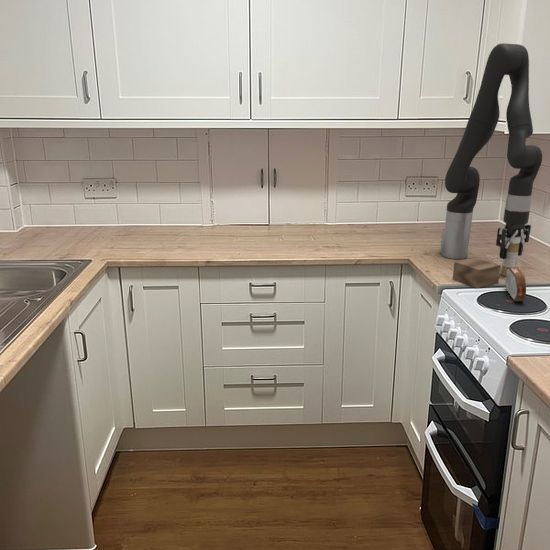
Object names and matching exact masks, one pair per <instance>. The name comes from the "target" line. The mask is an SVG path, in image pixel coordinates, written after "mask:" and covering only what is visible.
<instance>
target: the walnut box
mask: <svg viewBox="0 0 550 550" xmlns="http://www.w3.org/2000/svg"><path fill="white" fill-rule="evenodd" d="M501 267H502V266H501V264H498V263H494V262H491V261H488V260H484V259H481V258H478V257H472V258H465V259H460V260H457V261H454V264H453V273H452V280H453V279H454V281H456V282H459V283H463V284H464V285H468V286H471V287H473V288H475V289H479V288H483V287H488V286H491V285H492V286H493V285H496V284H498V283H499V281H500V280H499V279H500V275H501Z"/></svg>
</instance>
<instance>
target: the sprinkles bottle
mask: <svg viewBox="0 0 550 550" xmlns="http://www.w3.org/2000/svg"><path fill="white" fill-rule="evenodd" d="M506 238H507V237H506ZM507 239H510V238H507ZM520 240H521V238H520V237H514V239H513V241H512V242H511V243H510V244H509V246H508V251H507V258H506V259H502V263H501V264H502V266H501V270H500V275H501V276H505V277H506V270H507V268H508V267H516V266H517V264H518V257H519V256H518V249H519V244H520ZM505 244H506V243H505Z"/></svg>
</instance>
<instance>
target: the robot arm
mask: <svg viewBox="0 0 550 550" xmlns="http://www.w3.org/2000/svg"><path fill="white" fill-rule="evenodd" d="M529 59H530V58H529V51H528V49H527V48H526V46H524V45H522V44H517V43H503V42H502V43H498V44H496V45H495V46H493V48H492V49H491V51H490V53H489V54H488V57H487V61H486V64H485V68H484V72H483V75H482V80H481V82H480V87H479V90H478V93H477V96H476V99H475V102H474V104H473V107H472V110H471V112H470V116H469V118H468V121H467V123H466V126H465V129H464V133H463V135H462V138H461V141H460V143H459V145H458V147H457V151H456V152H455V155H454V157H453V159H452V161H451V162H450V165H449V167H448V170H447V172H446V174H445V178H444V186H445V189H446V191H447V192H448V193H451V194H456V195H455V196H454V198H453V199H452V200H450V201H449V202H447V205H446V213H445V222H444V229H442V231H441V241H440V249H439V254H440V255H442V256H443V257H445V258H448V259H453V260H466V259H468V255H469V246H470V240H471V239H470V237H471V230H472V222H473V214H474V213H473V212H474V207H476V204H477V200H478V195H479V194H478V193H479V189H480V183H481V182H480V181H481V178H480V174H479V171H478V169H477V168H476V167H474V166H471V165H472V162H473V160H474V158H475V157H476V156H477V155H478V154H479V153H480V151H481V150H483V148H484V147H485V146H486V145H487V144H488V142H489V141H490V140H491V139H492V137H493V135H494V133H495V130H496V128H497V125H498V122H499V120H500V104H499V91H500V87H501V84H502V82H503V80H504V77H505V76H508V77H509V80H510V86H511V92H510V97H509V100H508V104H507V106H506V107H507V108H506V111H505V112H506V115H505V116H506V117H505V118H506V124H507V130H508V131H507V132H508V140H507V148H506V149H507V151H506V158H507V161H508V164H509V166H511V168H513V169H517V170H519V171H518V173H517V174H515V175H513V176H512V177H511V178H510V179H509V182H508V183H509V184H508V190H507V196H506V199H505V200H506V201H505V207H504V212H503V223H505V225H504V228H502V227H497V231H496V232H497V234H496V243H495V245H496V246H497V247H499V259H502V260H503V259H506V258H507V251H508V246H509V244H510V243H511V242H512V241H513V239H514V237H520V238H521V240H520V244H519V249H518V257H519V256H522V254H523V250H524V245H525V244H526V243H529V240H530V235H531V234H530V233H531V228H532V225H531V224H528V223H529V219H530V213H531V212H530V211H531V205H532V193H533V187H534V182H535V179H537V178H536V177H537V176H538V172H539V171H540V168H541V165H542V164H543V163H542V161H543V152H542V150H541V148H540V147H539V146H537V145H533V144H530V145H526V141H527V139H528V138H530V137H531V136H533V133H534V128H533V127H534V126H533V120H532V115H531V110H530V109H531V108H530V93H529V92H530V90H529V89H530V60H529ZM506 237H507V238H510V239H507V238H506ZM505 241H506V244H505Z"/></svg>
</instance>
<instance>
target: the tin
mask: <svg viewBox="0 0 550 550" xmlns="http://www.w3.org/2000/svg"><path fill="white" fill-rule="evenodd" d="M505 289H506V292H507V291H508V292H507V293H509V294H510V295H509V294H508V295H509V297H510V296H511V297H512V298H513V300H514V301H513V300H512V301H513V302H521V301H523V302H524V301H525V300H526V297H527V280H526V276H525V275H524V273H523V271H522V270H521V269H520V267H518V266H517V265H516V267H508V268H507V270H506V276H505ZM511 297H510V298H511ZM512 298H511V299H512Z"/></svg>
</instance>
